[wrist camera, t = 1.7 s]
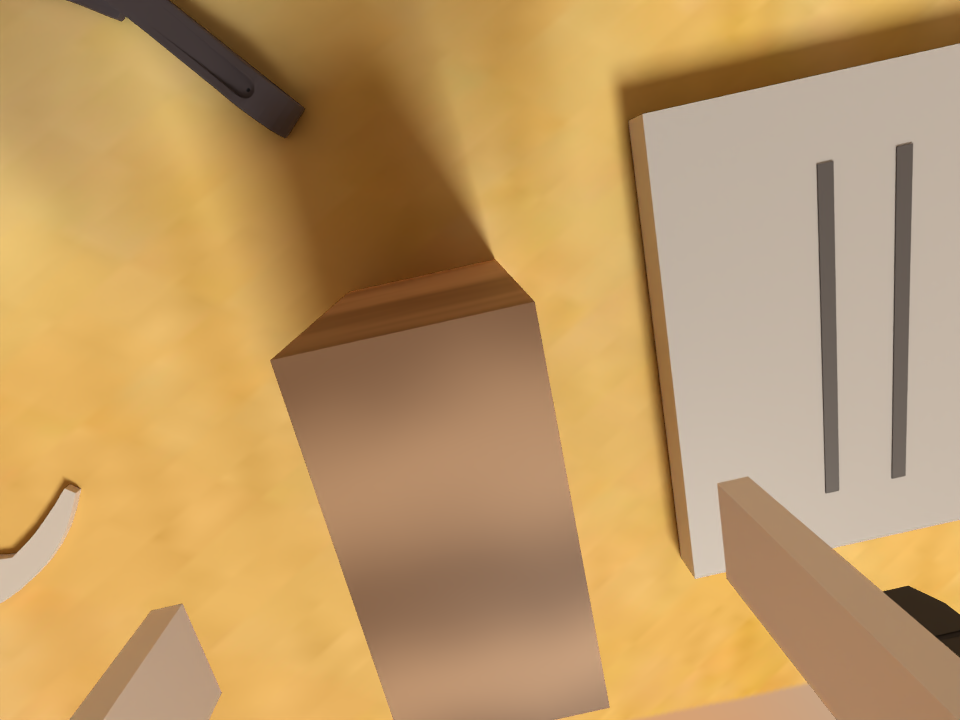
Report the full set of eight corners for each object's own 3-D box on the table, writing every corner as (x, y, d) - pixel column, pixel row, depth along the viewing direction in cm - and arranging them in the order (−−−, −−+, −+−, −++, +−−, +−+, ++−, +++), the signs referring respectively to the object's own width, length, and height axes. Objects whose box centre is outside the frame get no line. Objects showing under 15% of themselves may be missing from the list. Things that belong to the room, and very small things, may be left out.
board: (628, 120, 20) (642, 113, 19) (1039, 29, 20) (1087, 14, 19) (681, 558, 26) (695, 579, 24) (1001, 486, 26) (1036, 503, 24)
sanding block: (349, 291, 21) (270, 360, 12) (494, 258, 21) (534, 301, 12) (421, 541, 25) (404, 752, 15) (546, 513, 25) (609, 707, 15)
